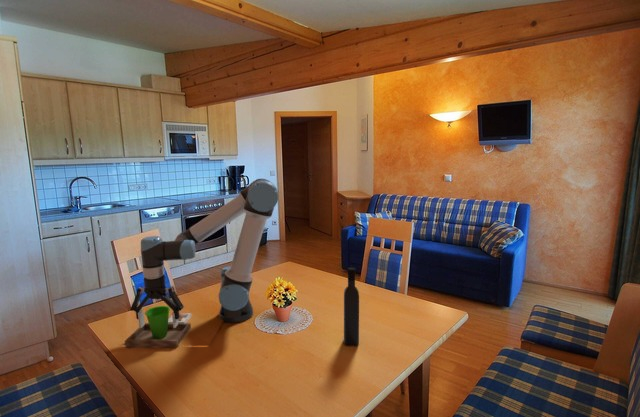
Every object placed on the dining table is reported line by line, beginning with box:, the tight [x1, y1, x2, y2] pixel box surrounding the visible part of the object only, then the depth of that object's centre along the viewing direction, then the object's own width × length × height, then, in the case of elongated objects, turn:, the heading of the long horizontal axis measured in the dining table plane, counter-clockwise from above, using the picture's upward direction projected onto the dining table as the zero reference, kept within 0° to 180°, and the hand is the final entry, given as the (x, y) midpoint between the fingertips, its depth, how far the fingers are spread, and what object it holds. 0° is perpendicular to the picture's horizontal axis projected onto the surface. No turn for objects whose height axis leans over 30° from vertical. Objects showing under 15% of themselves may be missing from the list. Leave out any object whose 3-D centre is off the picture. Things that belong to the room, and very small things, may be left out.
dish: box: [168, 313, 193, 323], centre depth 154 cm, size 8×8×2 cm
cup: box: [144, 305, 171, 339], centre depth 139 cm, size 9×9×11 cm
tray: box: [124, 322, 192, 349], centre depth 140 cm, size 20×14×3 cm
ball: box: [178, 311, 184, 321], centre depth 154 cm, size 4×4×4 cm
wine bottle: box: [343, 267, 360, 346], centre depth 134 cm, size 6×6×30 cm
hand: (158, 326), depth 140 cm, fingers open, 13 cm apart
